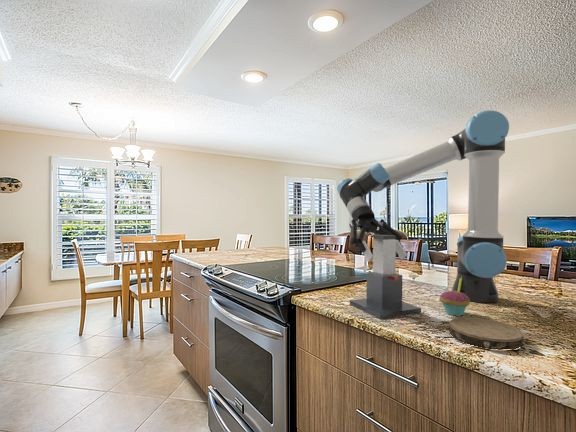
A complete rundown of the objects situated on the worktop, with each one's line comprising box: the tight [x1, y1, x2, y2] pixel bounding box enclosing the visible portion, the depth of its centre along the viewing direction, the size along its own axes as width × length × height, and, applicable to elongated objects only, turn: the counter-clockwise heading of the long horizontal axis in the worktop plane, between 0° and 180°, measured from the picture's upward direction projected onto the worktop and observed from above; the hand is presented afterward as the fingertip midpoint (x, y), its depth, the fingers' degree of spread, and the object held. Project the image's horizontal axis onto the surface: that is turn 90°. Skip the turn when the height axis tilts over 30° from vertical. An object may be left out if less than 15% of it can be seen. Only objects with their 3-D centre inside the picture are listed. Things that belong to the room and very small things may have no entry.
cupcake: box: [438, 276, 471, 317], centre depth 100 cm, size 9×8×12 cm
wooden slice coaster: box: [449, 316, 525, 349], centre depth 81 cm, size 16×16×3 cm
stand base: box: [349, 271, 422, 320], centre depth 106 cm, size 16×16×12 cm
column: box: [372, 234, 397, 276], centre depth 106 cm, size 5×5×22 cm
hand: (388, 258), depth 104 cm, fingers open, 13 cm apart
